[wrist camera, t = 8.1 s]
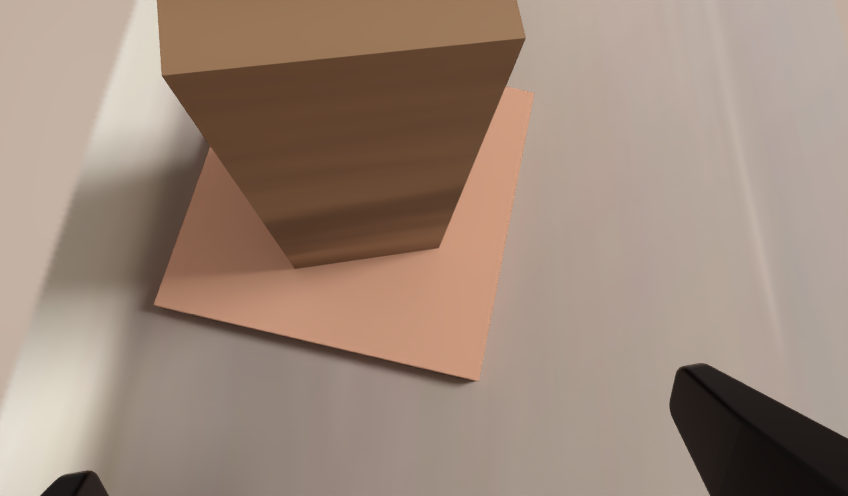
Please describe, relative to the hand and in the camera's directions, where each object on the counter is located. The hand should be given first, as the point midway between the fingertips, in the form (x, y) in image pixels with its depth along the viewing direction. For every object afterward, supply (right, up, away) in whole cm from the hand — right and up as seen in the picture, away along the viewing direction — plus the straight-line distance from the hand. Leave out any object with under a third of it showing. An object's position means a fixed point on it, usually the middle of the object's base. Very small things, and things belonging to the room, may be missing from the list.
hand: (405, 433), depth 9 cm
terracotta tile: (-2, +5, +12) cm, 13 cm away
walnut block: (-2, +5, +11) cm, 12 cm away
